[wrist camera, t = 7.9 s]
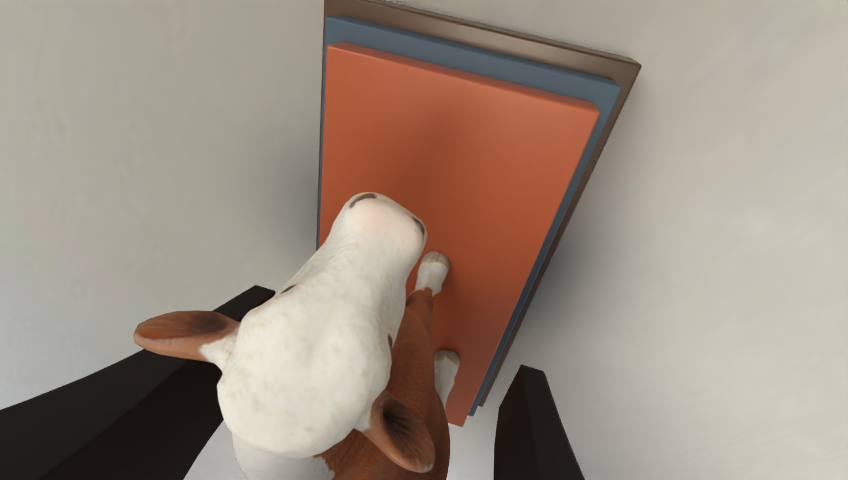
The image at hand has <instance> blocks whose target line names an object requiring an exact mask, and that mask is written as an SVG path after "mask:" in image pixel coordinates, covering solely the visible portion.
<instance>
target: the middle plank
mask: <svg viewBox="0 0 848 480" xmlns="http://www.w3.org/2000/svg"><path fill="white" fill-rule="evenodd" d="M339 42H346V43H351V44H355V45H359V46H363V47H367V48H371V49H375V50H379V51H383V52H387V53H392V54H396V55H400V56H404V57H408V58H412V59H416V60H420V61H424V62H429V63H433V64H437V65H441V66H445V67H449V68H453V69H457V70H461V71H466V72H470V73H474V74H478V75H482V76H486V77H490V78H494V79H498V80H502V81H507V82H511V83H515V84H519V85H523V86H527V87H531V88H535V89H539V90H544V91H548V92H552V93H556V94H560V95H564V96H568V97H572V98H576V99H581V100H585V101H589V102H593V103H594V104H595V105H596V107H597V108H598V110H599V111H600V115H599V118H598V120H597V122H596V124H595V127H594V129H593V131H592V133H591V136H590V138H589V140H588V143H587V145H586V147H585V149H584V152H583V154H582V156H581V158H580V161H579V163H578V165H577V168H576V170H575V172H574V174H573V177H572V179H571V181H570V184H569V186H568V188H567V190H566V193H565V195H564V197H563V199H562V202H561V204H560V206H559V209H558V211H557V213H556V215H555V218H554V220H553V222H552V225H551V227H550V229H549V231H548V234H547V236H546V238H545V240H544V243H543V245H542V247H541V250H540V252H539V254H538V256H537V259H536V261H535V263H534V265H533V268H532V270H531V272H530V275H529V277H528V279H527V281H526V284H525V286H524V288H523V291H522V293H521V295H520V297H519V300H518V302H517V304H516V306H515V309H514V311H513V313H512V316H511V318H510V320H509V322H508V325H507V327H506V329H505V331H504V334H503V336H502V338H501V341H500V343H499V345H498V347H497V350H496V352H495V354H494V357H493V359H492V361H491V363H490V366H489V368H488V370H487V372H486V375H485V377H484V379H483V382H482V384H481V386H480V388H479V391H478V393H477V395H476V398H475V400H474V402H473V404H472V407H471V409H470V411H469V413H468V415H469V416H473V415H474V413H475V411H476V409H477V407H478V404H479V402H480V400H481V398H482V396H483V393H484V391H485V389H486V387H487V385H488V382H489V380H490V378H491V376H492V374H493V371H494V369H495V367H496V365H497V363H498V360H499V358H500V356H501V354H502V352H503V349H504V347H505V345H506V343H507V341H508V338H509V336H510V334H511V332H512V330H513V327H514V325H515V323H516V321H517V319H518V316H519V314H520V312H521V310H522V308H523V305H524V303H525V301H526V299H527V297H528V294H529V292H530V290H531V288H532V286H533V283H534V281H535V279H536V277H537V275H538V272H539V270H540V268H541V266H542V264H543V261H544V259H545V257H546V255H547V253H548V250H549V248H550V246H551V244H552V241H553V239H554V237H555V235H556V233H557V230H558V228H559V226H560V224H561V222H562V219H563V217H564V215H565V213H566V211H567V208H568V206H569V204H570V202H571V200H572V197H573V195H574V193H575V191H576V189H577V186H578V184H579V182H580V180H581V178H582V175H583V173H584V171H585V169H586V167H587V164H588V162H589V160H590V158H591V156H592V153H593V151H594V149H595V147H596V145H597V142H598V140H599V138H600V136H601V134H602V131H603V129H604V127H605V125H606V123H607V120H608V118H609V116H610V114H611V112H612V109H613V107H614V105H615V103H616V101H617V98H618V96H619V94H620V92H621V89H622V87H621V86H620V85H619V84H618V83H617V82H616V81H615V80H612V79H608V78H604V77H600V76H596V75H591V74H587V73H583V72H579V71H575V70H570V69H566V68H562V67H558V66H554V65H549V64H545V63H541V62H537V61H532V60H528V59H524V58H520V57H516V56H511V55H507V54H503V53H499V52H495V51H490V50H486V49H482V48H478V47H474V46H469V45H465V44H461V43H457V42H453V41H448V40H444V39H440V38H436V37H431V36H427V35H423V34H419V33H415V32H410V31H406V30H402V29H398V28H394V27H389V26H385V25H381V24H377V23H373V22H368V21H364V20H360V19H356V18H351V17H347V16H343V15H335V16H327V17H326V18H325V43H324V71H323V100H322V128H321V156H320V185H319V213H318V242H317V250H318V249H319V238H320V213H321V187H322V161H323V135H324V110H325V84H326V58H327V46H328V45H332V44H335V43H339Z"/></svg>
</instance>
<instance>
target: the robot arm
mask: <svg viewBox="0 0 848 480" xmlns="http://www.w3.org/2000/svg"><path fill="white" fill-rule="evenodd" d="M274 295H275V291H274V290H270V289H267V288H264V287H260V286H257V285H255V286H253V287H252V288H250V289H248V290H246V291H245V292H243V293H241V294H240V295H238V296H236V297H235V298H233V299H231V300H230V301H228V302H226V303H225V304H223V305H221V306H220V307H218V308H216V309H215V310H213V312H218V313H221V314H223V315H225V316H227V317H229V318H231V319H233V320H235V321H237V322H242V319H243V318H244V317H245V315H246V314H247V313H248V312H249V311H250V310H252V309H254V308H256V307H258V306H260V305H262V304H264V303H265V302H266V301H268V300H269V299H271V298H272V297H273V296H274ZM222 375H223V373H222V371H221V369H220V368H219V367H218V366H217V365H216V364H214V363H212V362H207V361H201V360H193V359H186V358H179V357H173V356H167V355H161V354H157V353H154V352H151V351H148V350H146V349H143V350H141V351H139V352H137V353H135V354H133V355H131V356H129V357H127V358H125V359H123V360H121V361H119V362H117V363H115V364H113V365H110V366H108V367H106V368H104V369H102V370H99V371H97V372H95V373H93V374H91V375H88V376H86V377H84V378H81V379H79V380H77V381H74V382H72V383H69V384H67V385H64V386H62V387H59V388H57V389H54V390H52V391H49V392H47V393H44V394H42V395H39V396H37V397H34V398H32V399H29V400H26V401H24V402H21V403H18V404H16V405H13V406H10V407H7V408H4V409H2V410H0V480H183V479H184V478H185V476H186V474H187V473H188V471H189V469H190V468H191V466H192V464H193V463H194V461H195V460H196V458H197V456H198V455H199V453H200V452H201V450H202V449H203V448H204V446H205V445H206V443H207V442H208V440H209V439H210V437H211V436H212V435H213V433H214V432H215V431H216V429H217V428H218V427H219V425H220V424H221V423H222V421H223V420H224V418H223V415H222V412H221V408H220V405H219V401H218V392H217V384H218V382H219V381H220V379H221V377H222ZM494 480H585V479H584V476H583V474H582V472H581V469H580V467H579V465H578V462H577V460H576V458H575V455H574V453H573V450H572V448H571V445H570V443H569V440H568V438H567V435H566V433H565V430H564V427H563V425H562V422H561V419H560V417H559V414H558V411H557V408H556V405H555V403H554V400H553V397H552V394H551V391H550V388H549V385H548V381H547V378H546V375H545V373H544V372H543V371H541V370H538V369H534V368H531V367H528V366H524V365H521V366H520V368H519V370H518V372H517V374H516V376H515V378H514V379H513V381H512V383H511V385H510V387H509V389H508V391H507V393H506V395H505V397H504V399H503V401H502V403H501V405H500V407H499V413H498V421H497V428H496V436H495V445H494Z"/></svg>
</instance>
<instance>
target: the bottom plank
mask: <svg viewBox="0 0 848 480" xmlns="http://www.w3.org/2000/svg"><path fill="white" fill-rule="evenodd" d="M335 15H343V16H347V17H351V18H356V19H360V20H364V21H368V22H373V23H377V24H381V25H385V26H389V27H394V28H398V29H402V30H406V31H410V32H415V33H419V34H423V35H427V36H431V37H436V38H440V39H444V40H448V41H453V42H457V43H461V44H465V45H469V46H474V47H478V48H482V49H486V50H490V51H495V52H499V53H503V54H507V55H511V56H516V57H520V58H524V59H528V60H532V61H537V62H541V63H545V64H549V65H554V66H558V67H562V68H566V69H570V70H575V71H579V72H583V73H587V74H591V75H596V76H600V77H604V78H608V79H612V80H615V81H616V82H617V83H618V84H619V85H620V86H621V87H622V89H621V92H620V94H619V96H618V98H617V101H616V103H615V105H614V107H613V109H612V112H611V114H610V116H609V118H608V120H607V123H606V125H605V127H604V129H603V131H602V134H601V136H600V138H599V140H598V142H597V145H596V147H595V149H594V151H593V153H592V156H591V158H590V160H589V162H588V164H587V167H586V169H585V171H584V173H583V175H582V178H581V180H580V182H579V184H578V186H577V189H576V191H575V193H574V195H573V197H572V200H571V202H570V204H569V206H568V208H567V211H566V213H565V215H564V217H563V219H562V222H561V224H560V226H559V228H558V230H557V233H556V235H555V237H554V239H553V241H552V244H551V246H550V248H549V250H548V253H547V255H546V257H545V259H544V261H543V264H542V266H541V268H540V270H539V272H538V275H537V277H536V279H535V281H534V283H533V286H532V288H531V290H530V292H529V294H528V297H527V299H526V301H525V303H524V305H523V308H522V310H521V312H520V314H519V316H518V319H517V321H516V323H515V325H514V327H513V330H512V332H511V334H510V336H509V338H508V341H507V343H506V345H505V347H504V349H503V352H502V354H501V356H500V358H499V360H498V363H497V365H496V367H495V369H494V371H493V374H492V376H491V378H490V380H489V382H488V385H487V387H486V389H485V391H484V393H483V396H482V398H481V400H480V402H479V404H478V406H481V407H483V405H484V403H485V401H486V399H487V397H488V394H489V392H490V390H491V388H492V386H493V384H494V382H495V379H496V377H497V375H498V373H499V371H500V369H501V367H502V364H503V362H504V360H505V358H506V356H507V354H508V352H509V349H510V347H511V345H512V343H513V341H514V339H515V337H516V334H517V332H518V330H519V328H520V326H521V324H522V322H523V319H524V317H525V315H526V313H527V311H528V309H529V307H530V304H531V302H532V300H533V298H534V296H535V294H536V292H537V289H538V287H539V285H540V283H541V281H542V279H543V277H544V274H545V272H546V270H547V268H548V266H549V264H550V262H551V259H552V257H553V255H554V253H555V251H556V249H557V247H558V244H559V242H560V240H561V238H562V236H563V234H564V232H565V229H566V227H567V225H568V223H569V221H570V219H571V217H572V214H573V212H574V210H575V208H576V206H577V204H578V202H579V199H580V197H581V195H582V193H583V191H584V189H585V187H586V184H587V182H588V180H589V178H590V176H591V174H592V172H593V169H594V167H595V165H596V163H597V161H598V159H599V157H600V154H601V152H602V150H603V148H604V146H605V144H606V142H607V140H608V137H609V135H610V133H611V131H612V129H613V127H614V125H615V122H616V120H617V118H618V116H619V114H620V112H621V110H622V107H623V105H624V103H625V101H626V99H627V97H628V95H629V92H630V90H631V88H632V86H633V84H634V82H635V80H636V77H637V75H638V73H639V71H640V69H641V64H639V63H638V62H636V61H634V60H633V59H631V58H627V57H623V56H619V55H614V54H610V53H606V52H601V51H597V50H593V49H588V48H584V47H580V46H576V45H571V44H567V43H563V42H558V41H554V40H550V39H545V38H541V37H537V36H533V35H528V34H524V33H520V32H515V31H511V30H507V29H502V28H498V27H494V26H489V25H485V24H481V23H477V22H472V21H468V20H464V19H459V18H455V17H451V16H446V15H442V14H438V13H434V12H429V11H425V10H421V9H416V8H412V7H408V6H403V5H399V4H395V3H390V2H386V1H382V0H324V28H323V58H322V88H321V119H320V149H319V179H318V209H317V240H316V252H317V242H318V213H319V185H320V156H321V128H322V100H323V71H324V43H325V18H326V17H327V16H335Z"/></svg>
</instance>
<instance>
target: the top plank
mask: <svg viewBox="0 0 848 480" xmlns="http://www.w3.org/2000/svg"><path fill="white" fill-rule="evenodd" d="M599 115H600V111H599V110H598V108H597V107H596V105H595V104H594V103H593V102H589V101H585V100H581V99H576V98H572V97H568V96H564V95H560V94H556V93H552V92H548V91H544V90H539V89H535V88H531V87H527V86H523V85H519V84H515V83H511V82H507V81H502V80H498V79H494V78H490V77H486V76H482V75H478V74H474V73H470V72H466V71H461V70H457V69H453V68H449V67H445V66H441V65H437V64H433V63H429V62H424V61H420V60H416V59H412V58H408V57H404V56H400V55H396V54H392V53H387V52H383V51H379V50H375V49H371V48H367V47H363V46H359V45H355V44H351V43H346V42H339V43H335V44H332V45H328V46H327V58H326V84H325V110H324V135H323V161H322V187H321V213H320V238H319V248H320V247H321V246H322V245H323V244H324V243H325V241H326V239H327V237H328V236H329V234H330V231H331V228H332V226H333V223H334V221H335V219H336V218H337V216H338V214H339V213H340V211H341V210H342V208H343V206H344V205H345V203H346V202H347V201H348V200H350V199H351V198H352V197H353V196H354V195H357V194H360V193H364V192H374V193H378V194H382V195H384V196H387V197H389V198H390V199H392V200H393V201H395V202H396V203H398V204H399V205H401V206H402V207H404V208H405V209H407V210H408V211H410V212H411V213H413V214H414V215H415V216H416V217H417V218H419V219H420V220H421V221H422V222H423V224H424V225H425V227H426V230H427V242H426V244H425V247H424V249H423V252H422V254H421V256H420V257H419V259H418V261H417V263H416V264H415V266H414V267H413V269H412V270H411V272H410V274H409V276H408V278H407V281H406V285H405V288H406V300H407V298H408V297H409V295H410V294H411V293H412V292H413V291H414V290H415V287H416V282H417V278H418V270H419V267H420V264H421V261H422V259H423V257H424V256H425V255H426V254H427V253H429V252H434V251H436V252H439V253H441V254H443V255H444V256H446V258H447V259H448V261H449V265H450V266H449V270H448V273H447V275H446V277H445V280H444V281H443V283H442V287H441V292H440V293H437V294H435V295H434V296H433V311H432V318H433V321H434V327H435V331H434V338H433V342H432V347H433V357H435V354H436V353H437V352H439V351H441V350H450V351H453V352H455V353H456V354H457V355H458V357H459V358H460V364H459V368H458V371H457V373H456V376H455V378H454V385H453V387H452V389H451V391H450V393H449V395H448V397H447V401H446V406H445V413H446V416H447V421H448V423H451V424H454V425H457V426H460V427H463V425H464V423H465V420H466V418H467V416H468V413H469V411H470V409H471V407H472V404H473V402H474V400H475V398H476V395H477V393H478V391H479V388H480V386H481V384H482V382H483V379H484V377H485V375H486V372H487V370H488V368H489V366H490V363H491V361H492V359H493V357H494V354H495V352H496V350H497V347H498V345H499V343H500V341H501V338H502V336H503V334H504V331H505V329H506V327H507V325H508V322H509V320H510V318H511V316H512V313H513V311H514V309H515V306H516V304H517V302H518V300H519V297H520V295H521V293H522V291H523V288H524V286H525V284H526V281H527V279H528V277H529V275H530V272H531V270H532V268H533V265H534V263H535V261H536V259H537V256H538V254H539V252H540V250H541V247H542V245H543V243H544V240H545V238H546V236H547V234H548V231H549V229H550V227H551V225H552V222H553V220H554V218H555V215H556V213H557V211H558V209H559V206H560V204H561V202H562V199H563V197H564V195H565V193H566V190H567V188H568V186H569V184H570V181H571V179H572V177H573V174H574V172H575V170H576V168H577V165H578V163H579V161H580V158H581V156H582V154H583V152H584V149H585V147H586V145H587V143H588V140H589V138H590V136H591V133H592V131H593V129H594V127H595V124H596V122H597V120H598V118H599ZM405 303H406V302H405ZM434 363H435V359H434Z"/></svg>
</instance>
